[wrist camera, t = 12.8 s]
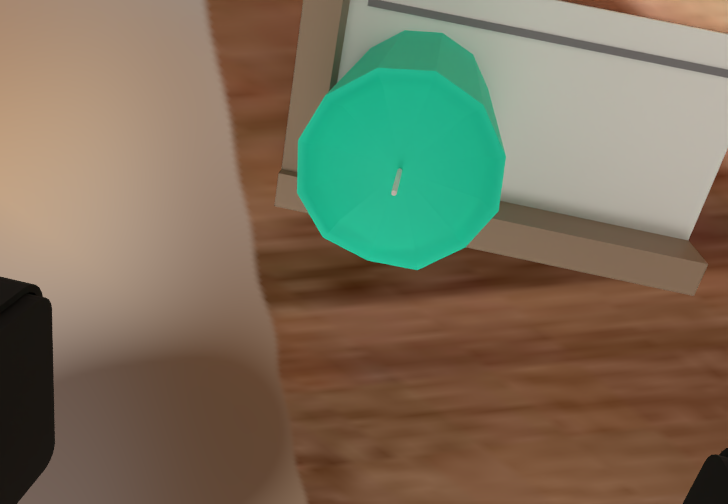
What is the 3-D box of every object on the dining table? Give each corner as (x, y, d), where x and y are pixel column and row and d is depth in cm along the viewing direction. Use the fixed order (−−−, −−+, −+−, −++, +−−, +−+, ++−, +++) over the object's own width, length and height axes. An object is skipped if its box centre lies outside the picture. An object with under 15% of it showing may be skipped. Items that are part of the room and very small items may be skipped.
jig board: (756, 39, 27) (803, 51, 23) (665, 256, 31) (693, 296, 27) (326, -46, 27) (306, -48, 24) (295, 177, 32) (274, 206, 28)
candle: (319, 95, 28) (235, 179, 17) (426, -4, 26) (406, 21, 15) (409, 196, 30) (383, 333, 19) (518, 110, 28) (560, 208, 17)
